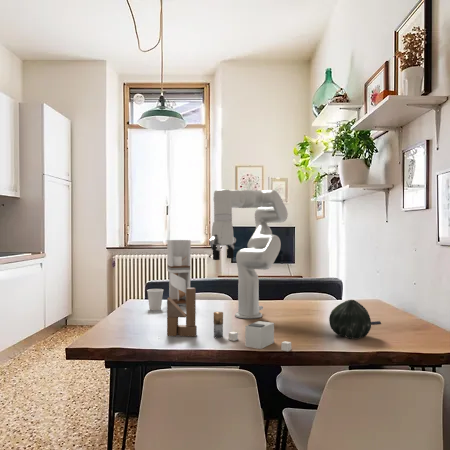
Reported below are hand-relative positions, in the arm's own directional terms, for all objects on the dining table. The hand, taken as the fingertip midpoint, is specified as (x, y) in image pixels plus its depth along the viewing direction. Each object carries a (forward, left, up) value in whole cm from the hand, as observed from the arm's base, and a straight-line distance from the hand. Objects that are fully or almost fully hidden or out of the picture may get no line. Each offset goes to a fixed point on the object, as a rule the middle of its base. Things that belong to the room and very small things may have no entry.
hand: (223, 259), depth 177 cm
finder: (+16, +29, -28) cm, 43 cm away
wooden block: (+24, -1, -28) cm, 37 cm away
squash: (-14, +50, -28) cm, 59 cm away
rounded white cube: (+17, +18, -28) cm, 37 cm away
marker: (+17, +40, -28) cm, 51 cm away
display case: (-26, -51, -28) cm, 64 cm away
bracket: (-42, +42, -29) cm, 66 cm away
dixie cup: (-7, -49, -28) cm, 57 cm away
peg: (+17, +11, -28) cm, 34 cm away
